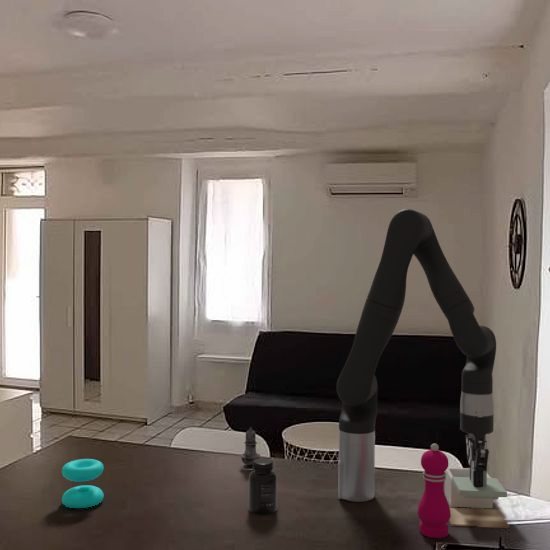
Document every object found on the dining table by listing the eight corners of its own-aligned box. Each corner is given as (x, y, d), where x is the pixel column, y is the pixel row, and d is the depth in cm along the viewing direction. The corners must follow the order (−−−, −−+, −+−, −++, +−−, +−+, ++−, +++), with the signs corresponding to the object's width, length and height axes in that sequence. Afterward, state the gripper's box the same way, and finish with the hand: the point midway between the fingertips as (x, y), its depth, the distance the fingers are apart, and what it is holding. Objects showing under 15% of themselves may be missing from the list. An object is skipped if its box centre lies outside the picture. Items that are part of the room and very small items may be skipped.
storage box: (451, 507, 161) (451, 479, 161) (444, 494, 170) (445, 467, 170) (492, 508, 160) (492, 480, 160) (483, 495, 169) (484, 468, 169)
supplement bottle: (280, 507, 160) (280, 458, 160) (271, 517, 154) (271, 466, 154) (254, 503, 163) (254, 455, 162) (244, 513, 156) (244, 463, 156)
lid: (459, 499, 150) (460, 468, 149) (451, 485, 159) (452, 456, 159) (506, 501, 149) (507, 470, 148) (496, 487, 158) (496, 457, 158)
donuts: (52, 466, 159) (81, 455, 169) (52, 506, 160) (81, 493, 169) (84, 472, 155) (112, 460, 164) (84, 513, 156) (112, 500, 165)
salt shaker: (257, 471, 187) (258, 430, 187) (238, 470, 188) (238, 428, 188) (262, 465, 193) (262, 425, 193) (243, 464, 194) (243, 423, 194)
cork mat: (451, 525, 150) (451, 524, 150) (443, 509, 159) (443, 507, 159) (509, 528, 148) (509, 526, 148) (498, 511, 158) (498, 509, 158)
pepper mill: (413, 526, 149) (414, 439, 149) (444, 525, 150) (444, 438, 149) (423, 539, 142) (424, 448, 141) (455, 538, 142) (456, 447, 142)
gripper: (454, 404, 161) (454, 473, 161) (466, 417, 147) (466, 494, 147) (485, 404, 160) (485, 474, 160) (500, 418, 146) (500, 495, 147)
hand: (476, 483), depth 154 cm, fingers closed on lid, 3 cm apart
